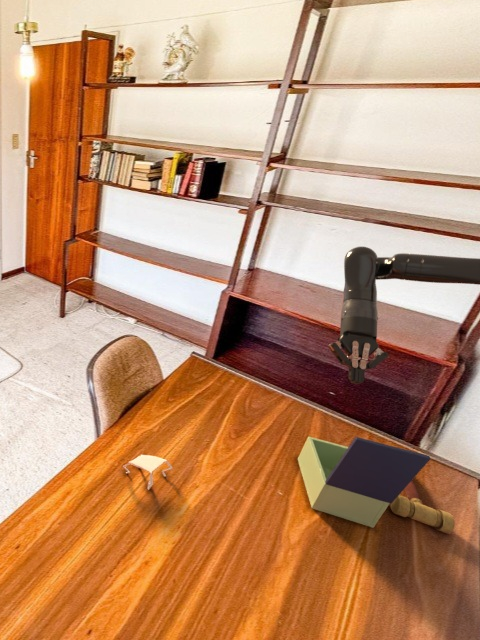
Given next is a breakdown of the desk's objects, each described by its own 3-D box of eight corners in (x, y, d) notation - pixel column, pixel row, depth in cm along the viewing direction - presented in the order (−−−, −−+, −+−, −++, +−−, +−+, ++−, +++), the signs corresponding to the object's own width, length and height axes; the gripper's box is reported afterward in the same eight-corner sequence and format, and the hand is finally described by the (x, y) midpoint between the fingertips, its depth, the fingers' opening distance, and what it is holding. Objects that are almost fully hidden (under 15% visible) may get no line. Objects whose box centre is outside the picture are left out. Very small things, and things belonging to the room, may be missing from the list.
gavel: (377, 446, 111) (423, 461, 107) (371, 458, 113) (416, 473, 108) (401, 504, 93) (458, 524, 89) (393, 517, 95) (448, 538, 91)
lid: (355, 436, 84) (356, 439, 84) (429, 455, 80) (431, 458, 80) (324, 481, 93) (325, 484, 92) (389, 500, 89) (391, 504, 88)
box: (297, 459, 110) (308, 436, 106) (350, 474, 106) (364, 451, 102) (311, 508, 97) (324, 484, 93) (373, 528, 93) (389, 503, 89)
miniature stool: (139, 497, 98) (142, 483, 96) (120, 469, 105) (123, 456, 103) (177, 482, 102) (181, 469, 100) (157, 457, 109) (160, 444, 107)
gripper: (380, 327, 107) (379, 390, 103) (323, 317, 112) (319, 378, 107) (397, 321, 100) (396, 389, 96) (336, 311, 105) (332, 375, 100)
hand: (356, 383), depth 102 cm, fingers closed
